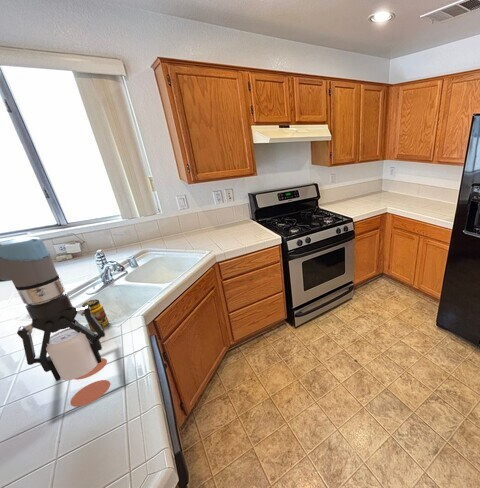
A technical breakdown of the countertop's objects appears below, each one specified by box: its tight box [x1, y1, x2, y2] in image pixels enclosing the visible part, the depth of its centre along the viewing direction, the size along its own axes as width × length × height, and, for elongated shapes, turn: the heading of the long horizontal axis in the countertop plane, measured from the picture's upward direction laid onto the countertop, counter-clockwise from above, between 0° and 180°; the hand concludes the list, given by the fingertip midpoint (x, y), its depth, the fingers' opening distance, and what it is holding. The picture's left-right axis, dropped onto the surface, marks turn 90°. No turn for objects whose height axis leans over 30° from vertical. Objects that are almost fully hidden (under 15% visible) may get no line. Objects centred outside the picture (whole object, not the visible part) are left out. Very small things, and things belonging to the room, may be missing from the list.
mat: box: [69, 357, 111, 408], centre depth 81 cm, size 15×22×1 cm
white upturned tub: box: [46, 328, 98, 381], centre depth 72 cm, size 8×8×12 cm
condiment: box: [81, 298, 110, 332], centre depth 106 cm, size 7×8×12 cm
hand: (79, 368), depth 73 cm, fingers closed on white upturned tub, 8 cm apart
